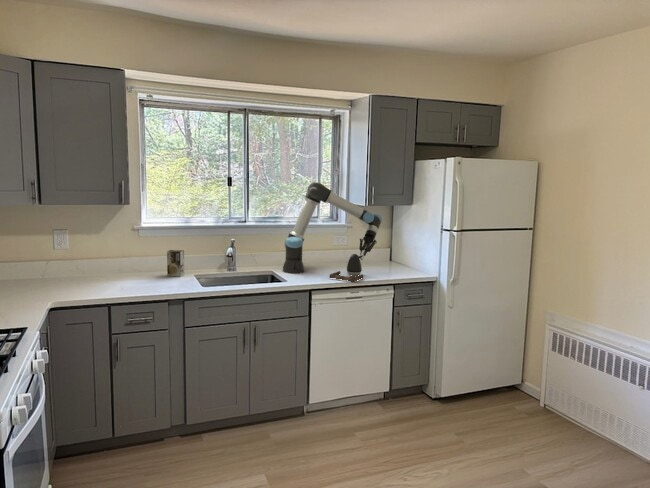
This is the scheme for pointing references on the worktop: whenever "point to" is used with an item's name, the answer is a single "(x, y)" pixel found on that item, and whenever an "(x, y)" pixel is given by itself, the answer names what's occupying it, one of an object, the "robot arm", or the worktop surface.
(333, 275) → the walnut bay
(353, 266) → the dark grey tapered dome
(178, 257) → the coffee box
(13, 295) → the worktop surface
